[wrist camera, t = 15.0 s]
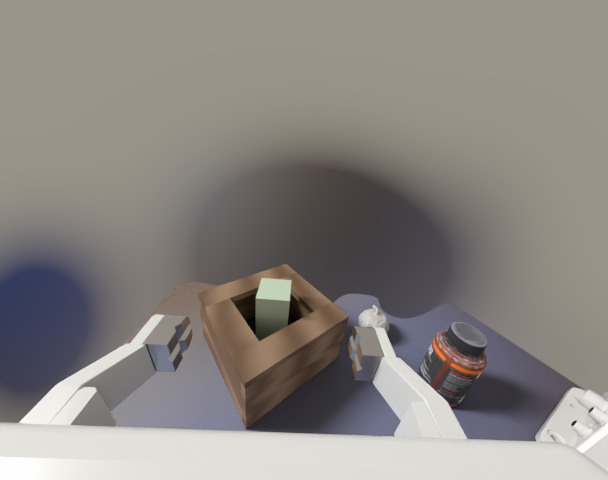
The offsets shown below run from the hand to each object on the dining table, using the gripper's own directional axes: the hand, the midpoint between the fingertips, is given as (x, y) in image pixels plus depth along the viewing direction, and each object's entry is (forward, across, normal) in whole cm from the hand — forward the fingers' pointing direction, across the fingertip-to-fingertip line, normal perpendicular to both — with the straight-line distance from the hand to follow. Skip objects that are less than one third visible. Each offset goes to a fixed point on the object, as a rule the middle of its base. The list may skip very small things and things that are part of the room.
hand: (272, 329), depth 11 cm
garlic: (+21, -16, +24) cm, 35 cm away
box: (+16, +2, +23) cm, 28 cm away
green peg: (+16, +2, +23) cm, 28 cm away
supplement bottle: (+11, -24, +24) cm, 35 cm away
